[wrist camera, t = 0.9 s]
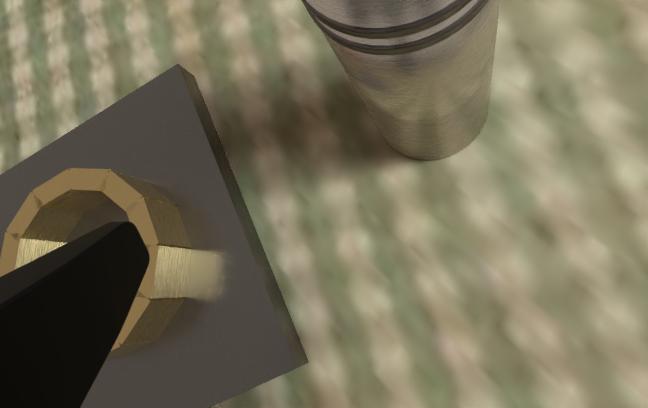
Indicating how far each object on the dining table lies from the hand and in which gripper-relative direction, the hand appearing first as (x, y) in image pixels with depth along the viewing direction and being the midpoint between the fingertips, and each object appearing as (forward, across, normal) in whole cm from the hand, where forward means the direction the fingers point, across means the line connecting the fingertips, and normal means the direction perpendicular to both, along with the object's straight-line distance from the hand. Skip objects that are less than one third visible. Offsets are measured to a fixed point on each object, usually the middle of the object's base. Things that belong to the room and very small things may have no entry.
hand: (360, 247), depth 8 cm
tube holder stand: (+9, +15, +10) cm, 20 cm away
